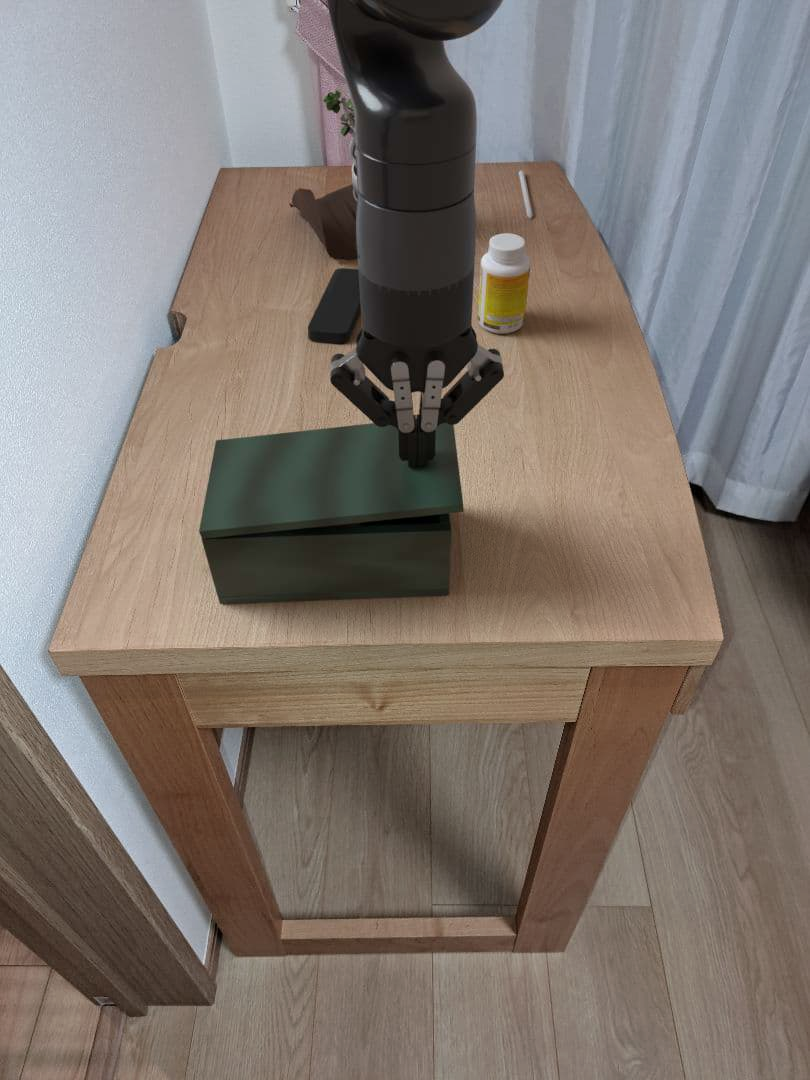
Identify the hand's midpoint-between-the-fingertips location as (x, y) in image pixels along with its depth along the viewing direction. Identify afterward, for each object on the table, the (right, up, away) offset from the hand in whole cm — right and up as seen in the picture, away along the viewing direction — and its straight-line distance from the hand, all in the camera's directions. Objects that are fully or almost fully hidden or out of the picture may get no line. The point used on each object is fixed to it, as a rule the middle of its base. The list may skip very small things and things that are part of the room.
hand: (417, 459), depth 65 cm
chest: (-7, -7, +8) cm, 13 cm away
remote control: (-9, +22, +35) cm, 42 cm away
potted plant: (-6, +38, +50) cm, 63 cm away
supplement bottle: (+10, +19, +33) cm, 39 cm away
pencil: (+17, +44, +56) cm, 73 cm away
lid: (-7, -1, +1) cm, 7 cm away
